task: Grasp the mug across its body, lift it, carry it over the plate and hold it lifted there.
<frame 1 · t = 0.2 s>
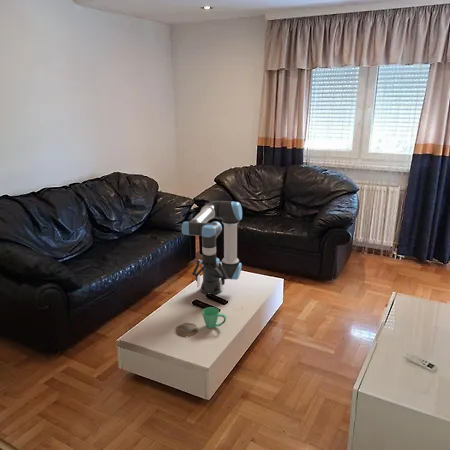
hand: (210, 288, 223), 28 cm above the table, fingers open, 13 cm apart
mug: (214, 327, 235), on the table
plate: (186, 330, 232), on the table
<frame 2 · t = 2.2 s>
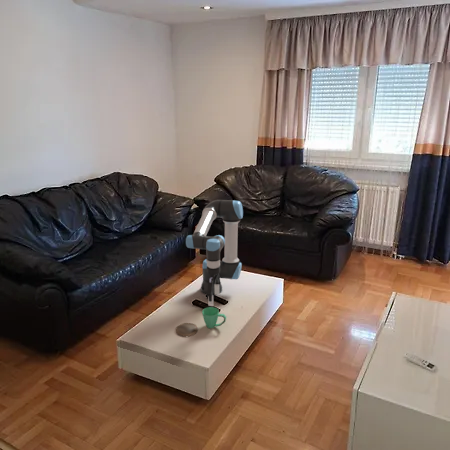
hand: (214, 299, 229), 18 cm above the table, fingers open, 13 cm apart
nothing on the table moved.
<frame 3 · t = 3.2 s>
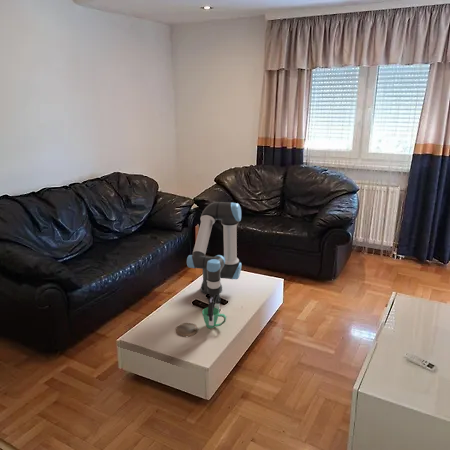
hand: (214, 319, 233), 6 cm above the table, fingers open, 13 cm apart
nothing on the table moved.
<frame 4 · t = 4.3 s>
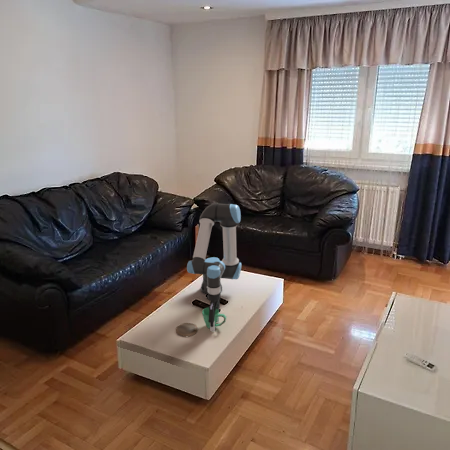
hand: (214, 326, 235), 1 cm above the table, fingers open, 9 cm apart
mug: (214, 327, 235), on the table, touching gripper
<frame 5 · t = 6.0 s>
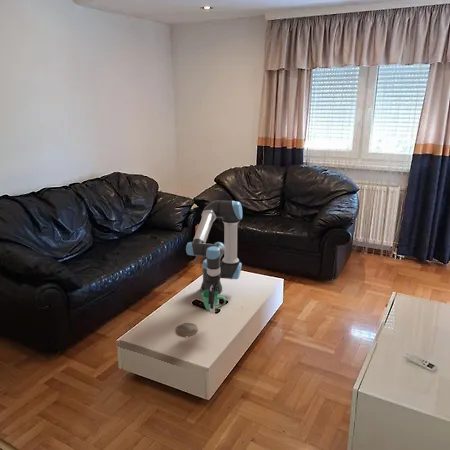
hand: (214, 308, 232), 12 cm above the table, fingers closed on mug, 9 cm apart
mug: (214, 309, 231), point 12 cm above the table, touching gripper
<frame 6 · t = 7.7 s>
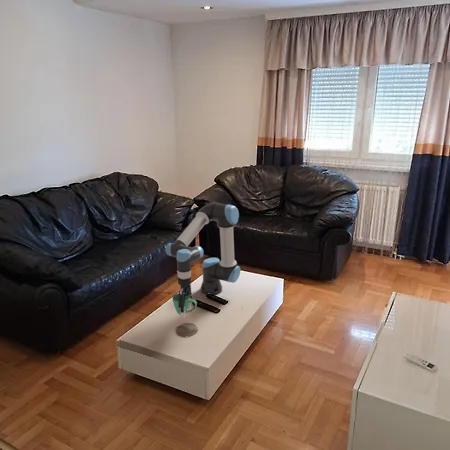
hand: (185, 312, 228), 12 cm above the table, fingers closed on mug, 9 cm apart
mug: (185, 313, 228), point 11 cm above the table, touching gripper
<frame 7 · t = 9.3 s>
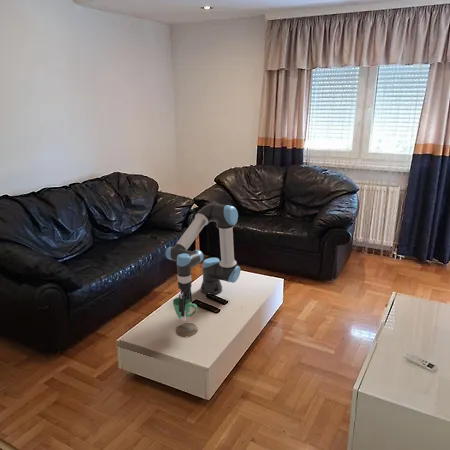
hand: (186, 316, 229), 9 cm above the table, fingers closed on mug, 9 cm apart
mug: (185, 317, 229), point 9 cm above the table, touching gripper
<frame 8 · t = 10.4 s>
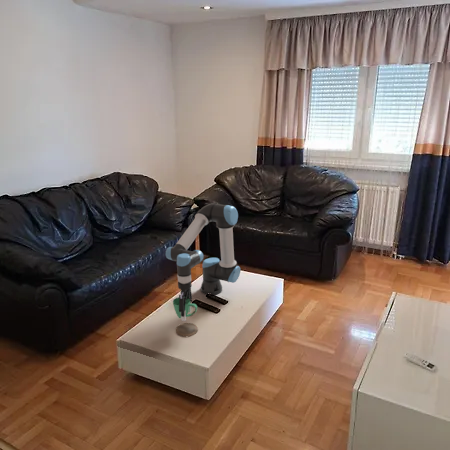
hand: (186, 316, 229), 9 cm above the table, fingers closed on mug, 9 cm apart
mug: (185, 317, 229), point 9 cm above the table, touching gripper
at the end: the gripper is holding mug; mug point 8.7 cm above the table; mug 0.3 cm from the plate (horizontally) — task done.
